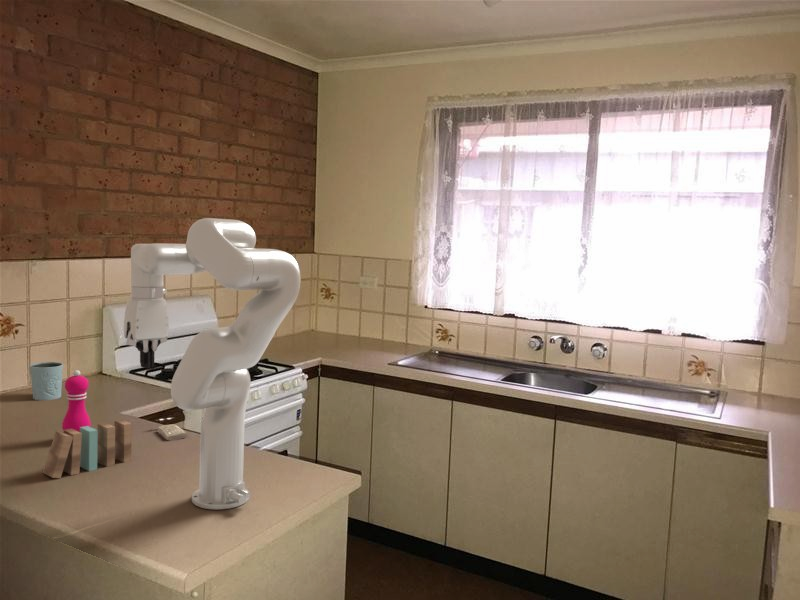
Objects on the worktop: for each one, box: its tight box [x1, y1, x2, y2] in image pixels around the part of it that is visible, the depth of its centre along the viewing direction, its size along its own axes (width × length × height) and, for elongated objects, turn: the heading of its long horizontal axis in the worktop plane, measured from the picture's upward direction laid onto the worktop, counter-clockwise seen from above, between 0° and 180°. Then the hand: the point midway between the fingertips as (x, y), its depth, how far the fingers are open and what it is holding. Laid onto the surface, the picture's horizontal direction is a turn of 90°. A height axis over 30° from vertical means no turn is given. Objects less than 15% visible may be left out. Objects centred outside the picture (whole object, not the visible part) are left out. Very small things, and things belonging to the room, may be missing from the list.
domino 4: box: [97, 422, 116, 468], centre depth 170 cm, size 5×2×10 cm, turn 51°
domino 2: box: [63, 429, 82, 476], centre depth 163 cm, size 5×2×10 cm, turn 51°
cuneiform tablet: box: [154, 416, 188, 442], centre depth 196 cm, size 6×4×12 cm
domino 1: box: [42, 430, 73, 479], centre depth 161 cm, size 5×2×10 cm, turn 51°
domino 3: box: [80, 426, 98, 472], centre depth 167 cm, size 5×2×10 cm, turn 51°
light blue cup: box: [29, 361, 64, 401], centre depth 230 cm, size 10×10×12 cm
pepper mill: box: [61, 369, 92, 432], centre depth 187 cm, size 7×7×20 cm
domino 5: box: [113, 419, 133, 463], centre depth 174 cm, size 5×2×10 cm, turn 51°
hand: (147, 367), depth 167 cm, fingers closed
